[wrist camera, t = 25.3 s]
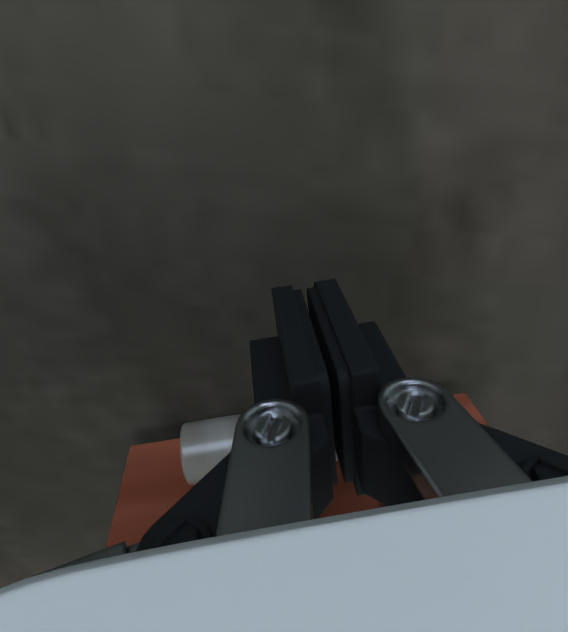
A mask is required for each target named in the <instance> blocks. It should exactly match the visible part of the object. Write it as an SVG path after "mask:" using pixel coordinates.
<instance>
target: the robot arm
mask: <svg viewBox="0 0 568 632" xmlns="http://www.w3.org/2000/svg"><path fill="white" fill-rule="evenodd" d="M271 289H272V297H273V304H274V311H275V318H276V325H277V332H278V336H276V337H270V338H264V339H257V340H251V341H250V352H251V365H252V377H253V390H254V402H255V404H253V405H252V406H250V407H249V408H247V409H246V410H245V411H244V412H243V413H242V414H241V415H240V417H239V418H238V420H237V423H236V426H235V431H234V436H233V442H232V448H231V452H230V453H229V454H228V455H227V456H225V457H224V458H223V459H222V460H221V461H220V462H219V463H218V464H217V465H216V466H215V467H214V468H213V469H212V470H211V471H209V472H208V473H207V474H206V475H205V476H204V477H203V478H202V479H201V480H200V481H199V482H198V483H197V484H196V485H195V486H193V487H192V488H191V489H190V490H189V491H188V492H187V493H186V494H185V495H184V496H183V497H182V498H181V499H180V500H179V501H177V502H176V503H175V504H174V505H173V506H172V507H171V508H170V509H169V510H168V511H167V512H166V513H165V514H164V515H163V516H161V517H160V518H159V519H158V520H157V521H156V522H155V523H154V524H153V525H152V526H151V527H150V528H149V529H148V531H147V532H146V533H145V534H144V535H143V537H142V539H141V541H140V542H138V543H136V544H133V545H130V546H127V544H126V542H125V541H123V542H121V543H118V544H115V545H113V546H110V547H108V548H105V549H102V550H100V551H97V552H95V553H92V554H89V555H87V556H84V557H82V558H79V559H76V560H74V561H71V562H69V563H66V564H63V565H61V566H58V567H56V568H53V569H50V570H48V571H45V572H43V573H40V574H37V575H35V576H32V577H30V578H26V579H23V580H20V581H18V582H15V583H13V584H10V585H8V586H5V587H3V588H0V632H568V456H566V455H564V454H561V453H559V452H556V451H553V450H551V449H548V448H545V447H543V446H540V445H537V444H534V443H532V442H529V441H526V440H524V439H521V438H518V437H516V436H513V435H510V434H508V433H505V432H502V431H500V430H497V429H494V428H491V427H489V426H486V425H483V424H481V423H478V422H477V421H476V420H475V419H474V418H473V417H472V416H471V415H470V414H469V413H468V412H467V410H466V409H465V408H464V407H463V406H462V405H461V404H460V403H459V402H458V401H457V400H456V399H455V398H454V397H453V395H452V394H451V393H450V392H449V391H448V390H446V389H445V388H444V387H443V386H442V385H440V384H438V383H436V382H434V381H431V380H428V379H424V378H419V377H406V376H405V375H404V373H403V371H402V369H401V367H400V366H399V364H398V362H397V360H396V359H395V357H394V355H393V353H392V352H391V350H390V348H389V346H388V344H387V343H386V341H385V339H384V337H383V336H382V334H381V332H380V330H379V328H378V327H377V325H376V324H375V322H366V323H360V324H357V322H356V320H355V318H354V316H353V314H352V312H351V310H350V308H349V306H348V304H347V302H346V300H345V297H344V295H343V293H342V291H341V289H340V287H339V285H338V283H337V281H336V280H335V279H330V280H324V281H317V282H314V288H307V299H308V309H309V313H308V310H307V307H306V304H305V301H304V297H303V294H302V291H301V289H300V290H293V287H292V285H291V286H284V287H277V288H271ZM335 451H336V454H335ZM336 455H337V458H338V462H339V465H340V469H341V473H342V476H343V480H344V482H350V481H353V484H354V488H355V491H356V494H357V496H359V495H365V494H366V495H368V496H370V497H372V498H374V499H375V500H377V501H379V508H375V509H369V510H363V511H358V512H352V513H346V514H340V515H335V516H329V517H323V518H320V515H321V514H322V513H323V511H324V510H325V509H326V507H327V506H328V505H329V503H330V502H331V501H332V499H333V498H334V496H333V484H337V483H338V481H337V467H336Z"/></svg>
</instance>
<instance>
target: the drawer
mask: <svg viewBox="0 0 568 632" xmlns="http://www.w3.org/2000/svg"><path fill="white" fill-rule="evenodd" d="M453 397H454V398H455V399H456V400H457V401H458V402H459V403H460V404H461V405H462V406H463V407H464V408H465V409H466V410H467V412H468V413H469V414H470V415H471V416H472V417H473V418H474V419H475V420H476V421H477V422H478V423H481V424H483V425H486V426H488V424H487V423H486V422H485V420H484V419H483V417H482V416H481V415H480V413H479V412H478V410H477V409H476V408H475V406H474V405H473V403H472V402H471V401H470V399H469V398H468V397H467V395H466V394H465V393H459V394H453ZM240 415H241V414H237V415H230V416H224V417H218V418H211V419H205V420H199V421H192V422H186V423H184V424H183V425H182V428H181V432H180V438H177V439H171V440H164V441H158V442H152V443H145V444H139V445H133V446H130V449H129V453H128V457H127V461H126V465H125V469H124V473H123V478H122V482H121V486H120V490H119V494H118V498H117V502H116V506H115V511H114V515H113V519H112V523H111V527H110V531H109V535H108V539H107V544H106V548H108V547H110V546H113V545H115V544H118V543H121V542H123V541H125V542H126V544H127V546H130V545H133V544H136V543H138V542H140V541H141V539H142V537H143V535H144V534H145V533H146V532H147V531H148V529H149V528H150V527H151V526H152V525H153V524H154V523H155V522H156V521H157V520H158V519H159V518H160V517H161V516H163V515H164V514H165V513H166V512H167V511H168V510H169V509H170V508H171V507H172V506H173V505H174V504H175V503H176V502H177V501H179V500H180V499H181V498H182V497H183V496H184V495H185V494H186V493H187V492H188V491H189V490H190V489H191V488H192V487H193V486H195V485H196V484H197V483H198V482H199V481H200V480H201V479H202V478H203V477H204V476H205V475H206V474H207V473H208V472H209V471H211V470H212V469H213V468H214V467H215V466H216V465H217V464H218V463H219V462H220V461H221V460H222V459H223V458H224V457H225V456H227V455H228V454H229V453H230V452H231V448H232V442H233V436H234V431H235V426H236V423H237V420H238V418H239V417H240ZM335 454H336V451H335ZM336 467H337V481H338V483H337V484H333V496H334V498H333V499H332V501H331V502H330V503H329V505H328V506H327V507H326V509H325V510H324V511H323V513H322V514H321V515H320V518H323V517H329V516H335V515H340V514H346V513H352V512H358V511H363V510H369V509H375V508H379V501H377V500H375V499H374V498H372V497H370V496H368V495H366V494H365V495H359V496H357V494H356V491H355V488H354V484H353V481H350V482H344V480H343V476H342V473H341V469H340V465H339V462H338V458H337V455H336Z"/></svg>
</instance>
